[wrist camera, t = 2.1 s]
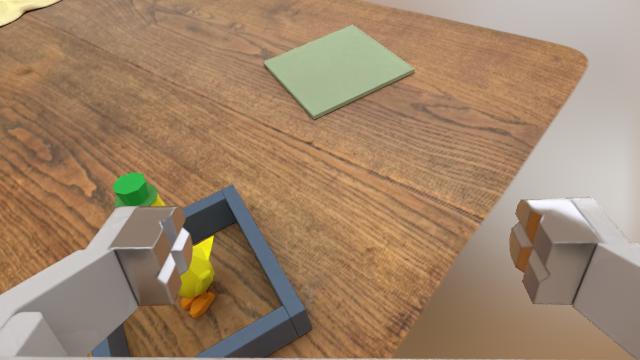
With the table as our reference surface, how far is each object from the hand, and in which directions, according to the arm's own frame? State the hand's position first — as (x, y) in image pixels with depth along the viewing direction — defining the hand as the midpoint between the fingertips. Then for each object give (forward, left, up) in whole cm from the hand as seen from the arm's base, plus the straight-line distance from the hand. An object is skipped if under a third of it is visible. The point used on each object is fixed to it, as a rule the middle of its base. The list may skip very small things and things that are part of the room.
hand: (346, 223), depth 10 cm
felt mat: (-15, -30, -18) cm, 38 cm away
